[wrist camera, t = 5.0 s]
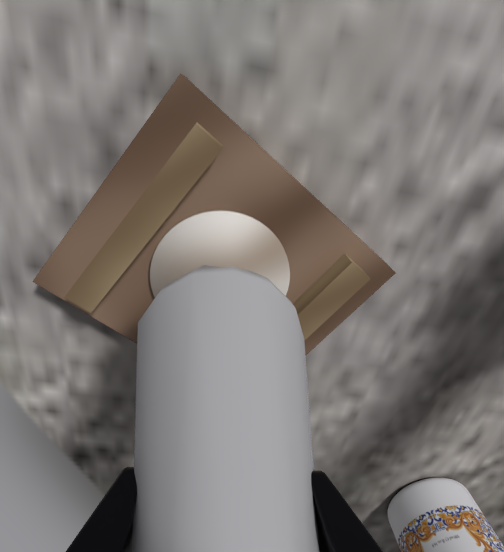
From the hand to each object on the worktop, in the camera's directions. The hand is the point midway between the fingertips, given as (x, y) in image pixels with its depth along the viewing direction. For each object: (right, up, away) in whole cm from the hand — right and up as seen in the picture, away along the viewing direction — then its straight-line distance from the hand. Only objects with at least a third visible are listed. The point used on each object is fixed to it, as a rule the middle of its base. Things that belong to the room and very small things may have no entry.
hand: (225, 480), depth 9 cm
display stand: (-1, +5, +12) cm, 13 cm away
